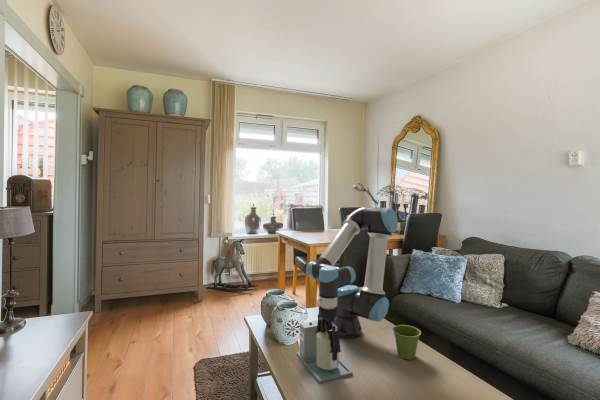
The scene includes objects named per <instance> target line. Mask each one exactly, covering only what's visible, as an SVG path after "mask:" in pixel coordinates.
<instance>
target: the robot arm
mask: <svg viewBox="0 0 600 400" xmlns="http://www.w3.org/2000/svg"><path fill="white" fill-rule="evenodd" d="M398 224H399V222H398V216H397V214H396V212H395V210H394V209H392V208H388V207H380V206H379V207H378V206H377V207H375V206H374V207H372V206H362V207H359V208H357V209H355V210H354V211H353V212H351V213H350V214H348V215H347V217H346V218H345V219H344V220H343V222H342V227H341V228H340V229H339V230H338V232H337V233H336V234H335V236H334V237H333V238H332V240H331V241H330V243H329V244H328V245H327V247H326V248H325V249H324V251H323V252H322V254H320V256H319V257H318V259H317V260H316V261H310V262H308V263H307V265H306V268H305V273H306V276H307V277H308V278H310V279H312V280H314V281H315V280H316V281H318V291H319V292H318V305H319V306H318V314H317V322H318V323H317V331H316V335H317V333H318V332H326V331H327V334H328V336H329V340H330V346H331V351H330V368H335V367H337V353H338V352H339V353H340V352H341V350H342V349H341V339H340V338H344V339H354V338H359V337H360V336H361V335H362V325H361V321H360V318H363V319H366V320H369V321H370V322H371V321H373V322H378V323H379V322H381V321H383V319H385V317H386V316H387V313H388V311H389V307H390V301H389V299H388V298H387V297H386V292H385V291H384V290H383V288H384V287H383V286H384V278H385V277H384V276H385V268H386V259H387V250H388V242H389V239H390V238H392V237H393V236H392V235H393V233H395V232H396V231H397V229H398ZM363 230H367V235H368V236H369V245H368V252H367V261H366V269H365V276H364V285H363V286H362V287H361V288H359V286H358V285H355V284H354V285H353V284H352V283H354V282H355V280H356V277H357V275H356V271H355V269H354V268H353V267H351V266H342V267H340V266H337V265H335V264H336V263H337V262H338V260H339V259H340V257H341V256H342V254H343V253H344V252H345V250H346V248H347V247H348V246H349V245H350V243H351V241H352V240H353V239H354V237H355V236H356V235H359V234H360V232H361V231H363ZM359 317H360V318H359Z"/></svg>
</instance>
